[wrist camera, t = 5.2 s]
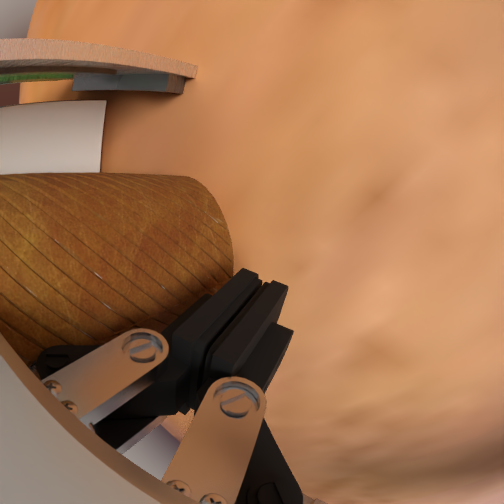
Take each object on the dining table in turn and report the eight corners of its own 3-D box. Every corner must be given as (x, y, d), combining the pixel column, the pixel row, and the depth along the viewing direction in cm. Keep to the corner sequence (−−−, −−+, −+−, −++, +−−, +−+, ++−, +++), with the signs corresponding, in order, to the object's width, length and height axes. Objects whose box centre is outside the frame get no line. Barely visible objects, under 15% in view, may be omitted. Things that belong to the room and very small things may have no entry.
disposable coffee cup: (288, 363, 10) (-19, 515, 2) (163, 328, 17) (-15, 392, 9) (238, 101, 9) (-131, 133, 1) (129, 173, 16) (-61, 208, 8)
